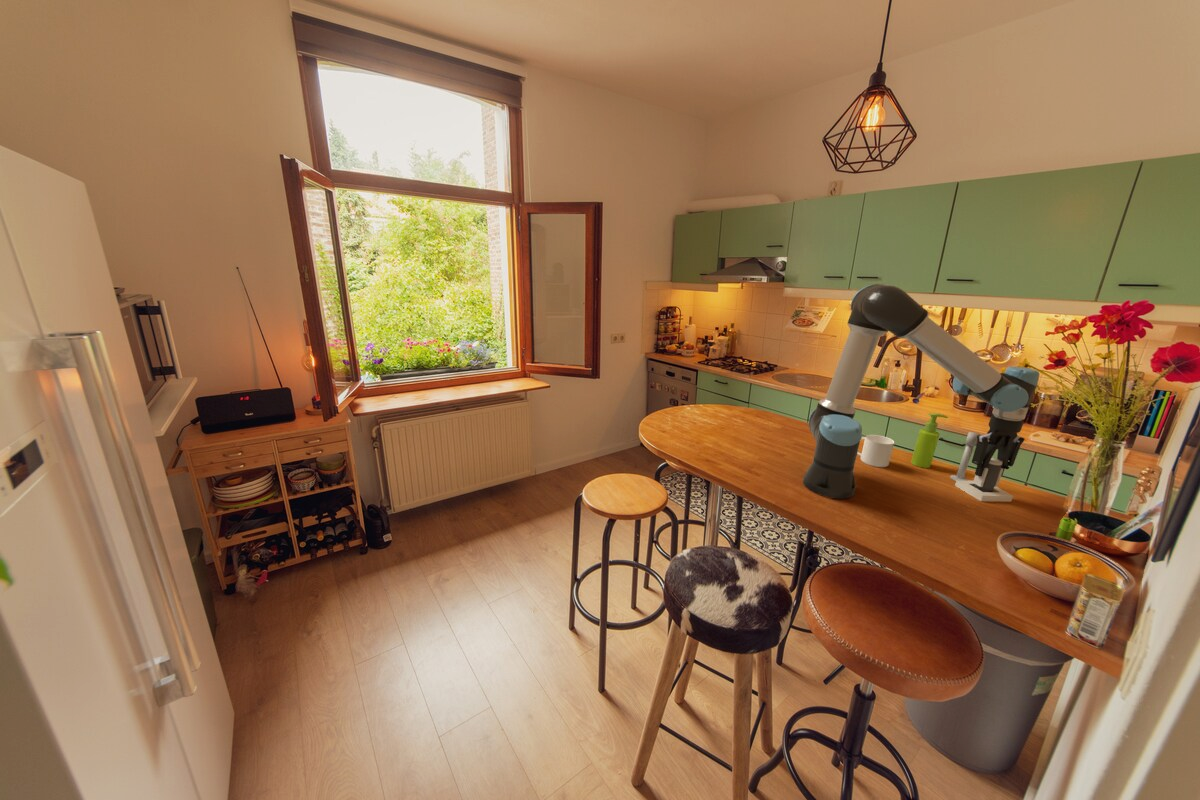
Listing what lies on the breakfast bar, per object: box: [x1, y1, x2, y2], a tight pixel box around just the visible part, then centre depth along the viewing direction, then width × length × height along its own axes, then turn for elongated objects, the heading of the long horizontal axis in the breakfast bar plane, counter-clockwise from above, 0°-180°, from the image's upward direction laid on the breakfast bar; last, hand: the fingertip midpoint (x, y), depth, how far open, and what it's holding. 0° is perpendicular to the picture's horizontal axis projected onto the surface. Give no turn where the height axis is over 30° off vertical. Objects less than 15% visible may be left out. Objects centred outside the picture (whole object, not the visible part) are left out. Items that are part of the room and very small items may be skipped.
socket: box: [950, 444, 1014, 503], centre depth 141 cm, size 10×16×13 cm, turn 2°
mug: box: [857, 434, 895, 468], centre depth 161 cm, size 12×9×9 cm
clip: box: [964, 431, 995, 447], centre depth 142 cm, size 3×14×4 cm, turn 70°
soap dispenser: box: [910, 412, 949, 469], centre depth 157 cm, size 6×7×20 cm
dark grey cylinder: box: [975, 457, 1003, 492], centre depth 138 cm, size 4×4×12 cm
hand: (985, 484), depth 139 cm, fingers closed on dark grey cylinder, 4 cm apart
